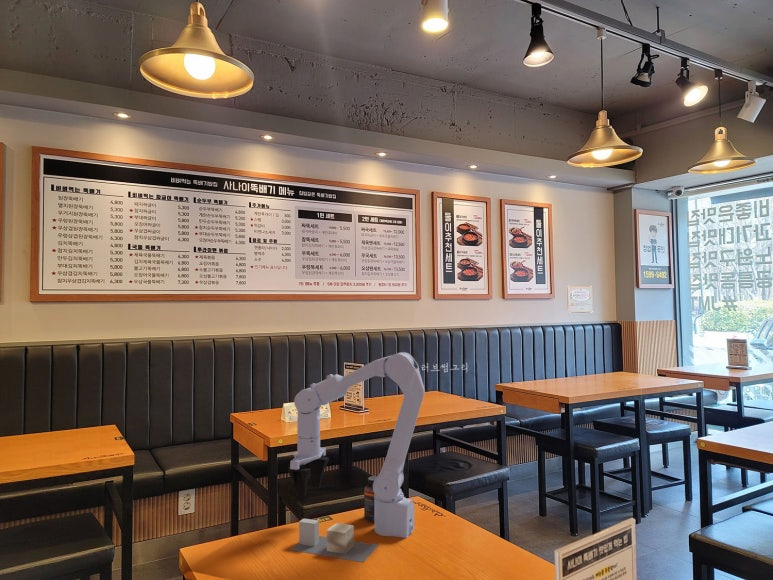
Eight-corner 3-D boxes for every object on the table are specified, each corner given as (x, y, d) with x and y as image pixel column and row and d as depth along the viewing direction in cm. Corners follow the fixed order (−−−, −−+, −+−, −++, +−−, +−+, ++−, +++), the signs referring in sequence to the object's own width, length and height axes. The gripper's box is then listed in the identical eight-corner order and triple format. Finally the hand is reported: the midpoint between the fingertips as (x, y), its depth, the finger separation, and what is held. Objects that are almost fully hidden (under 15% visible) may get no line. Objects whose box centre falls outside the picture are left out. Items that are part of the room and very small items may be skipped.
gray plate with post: (379, 549, 119) (378, 522, 120) (363, 567, 111) (362, 537, 111) (309, 538, 126) (309, 513, 126) (289, 554, 117) (289, 526, 118)
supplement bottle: (384, 527, 132) (384, 482, 133) (361, 526, 133) (361, 480, 134) (389, 519, 138) (388, 475, 139) (367, 517, 139) (367, 474, 140)
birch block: (353, 545, 119) (353, 525, 119) (345, 554, 115) (345, 533, 115) (335, 543, 121) (335, 522, 121) (326, 551, 117) (326, 530, 117)
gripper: (309, 429, 141) (309, 481, 140) (279, 441, 127) (279, 498, 127) (332, 431, 138) (332, 484, 138) (305, 443, 125) (305, 502, 124)
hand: (308, 491), depth 132 cm, fingers open, 7 cm apart
